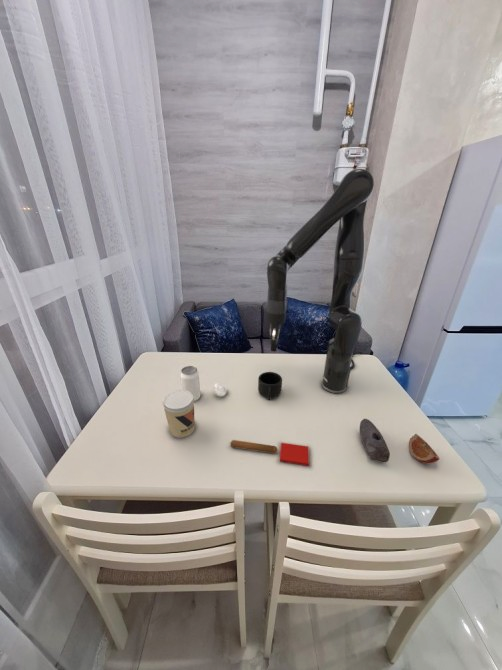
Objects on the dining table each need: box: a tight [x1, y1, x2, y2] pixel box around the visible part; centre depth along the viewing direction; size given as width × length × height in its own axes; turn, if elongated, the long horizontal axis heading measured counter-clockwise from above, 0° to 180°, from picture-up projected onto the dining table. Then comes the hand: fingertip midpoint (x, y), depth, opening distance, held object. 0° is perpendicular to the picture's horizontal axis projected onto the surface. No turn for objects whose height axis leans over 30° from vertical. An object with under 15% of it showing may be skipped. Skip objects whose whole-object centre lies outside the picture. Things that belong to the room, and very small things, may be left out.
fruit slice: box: [408, 433, 440, 464], centre depth 75 cm, size 8×7×5 cm
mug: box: [257, 371, 283, 401], centre depth 99 cm, size 12×9×7 cm
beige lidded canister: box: [162, 389, 195, 439], centre depth 83 cm, size 9×9×12 cm
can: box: [180, 365, 201, 402], centre depth 97 cm, size 6×6×12 cm
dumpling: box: [213, 382, 227, 398], centre depth 101 cm, size 7×5×4 cm
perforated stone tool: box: [359, 418, 391, 464], centre depth 78 cm, size 15×5×7 cm, turn 176°
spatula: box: [230, 439, 310, 467], centre depth 77 cm, size 23×6×2 cm, turn 80°
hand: (273, 350), depth 106 cm, fingers closed
